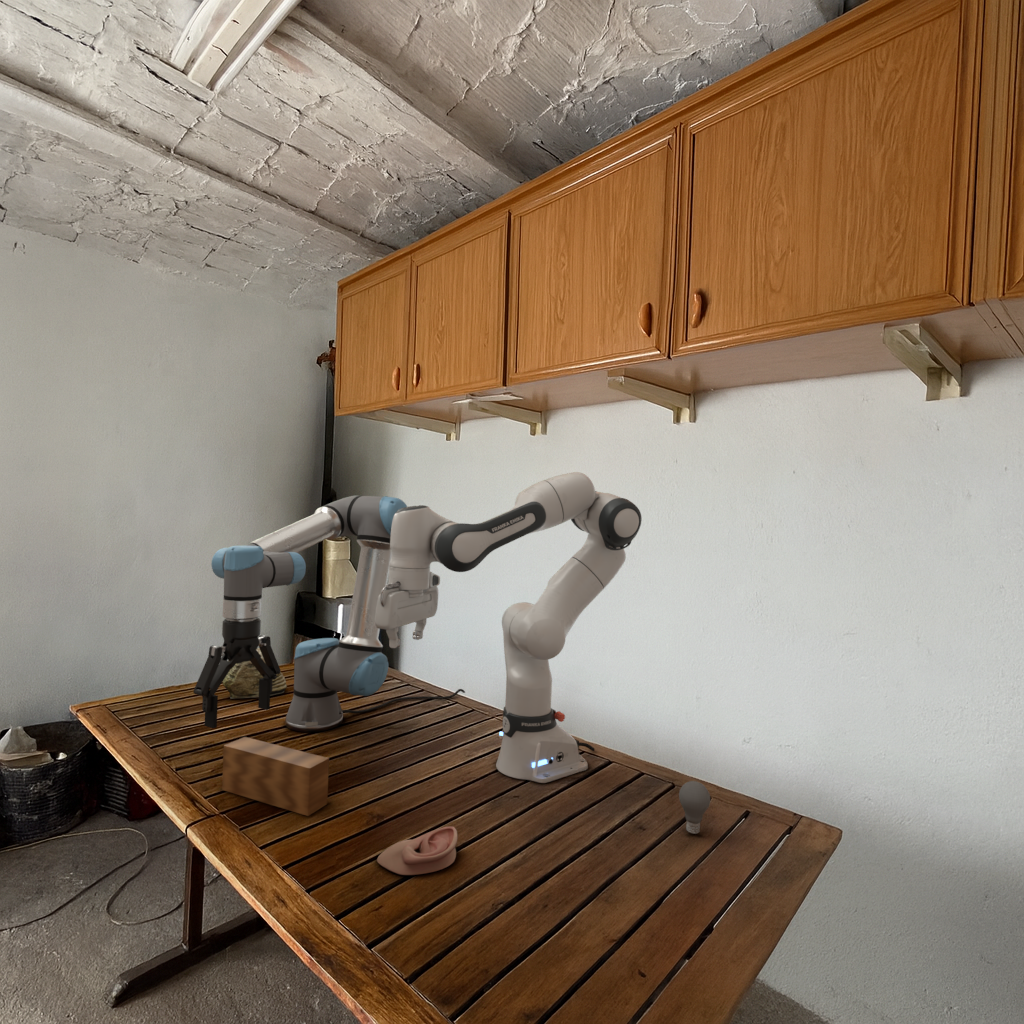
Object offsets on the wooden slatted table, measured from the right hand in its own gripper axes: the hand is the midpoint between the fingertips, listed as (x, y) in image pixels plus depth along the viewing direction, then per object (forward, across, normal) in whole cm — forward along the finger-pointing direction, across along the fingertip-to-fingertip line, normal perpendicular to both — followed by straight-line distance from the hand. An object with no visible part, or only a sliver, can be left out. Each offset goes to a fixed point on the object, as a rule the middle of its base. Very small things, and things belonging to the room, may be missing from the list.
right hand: (406, 643), depth 138 cm
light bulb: (+32, +11, -61) cm, 70 cm away
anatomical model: (+32, -21, -17) cm, 42 cm away
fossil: (+32, +34, +74) cm, 88 cm away
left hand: (+17, -16, +31) cm, 39 cm away
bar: (+32, -15, +22) cm, 42 cm away
